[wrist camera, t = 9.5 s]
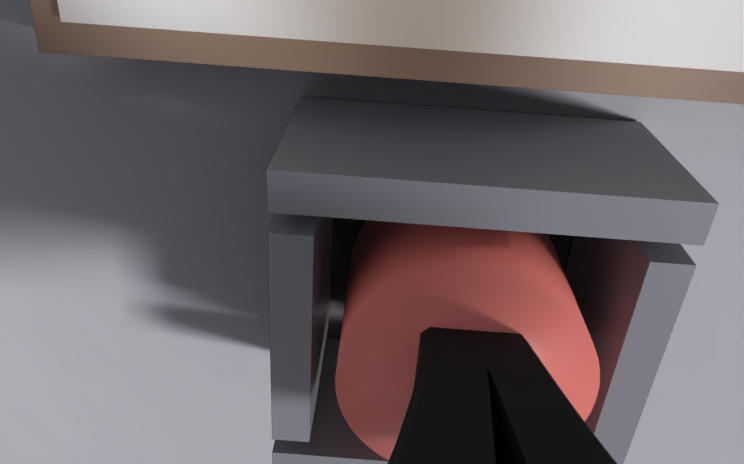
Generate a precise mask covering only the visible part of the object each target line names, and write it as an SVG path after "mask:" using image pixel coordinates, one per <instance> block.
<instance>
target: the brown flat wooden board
mask: <svg viewBox="0 0 744 464" xmlns="http://www.w3.org/2000/svg"><path fill="white" fill-rule="evenodd" d="M30 6H31V11H32V16H33V21H34V27H35V32H36V37H37V42H38V47H39V52H48V53H62V54H75V55H89V56H102V57H116V58H129V59H143V60H156V61H170V62H183V63H197V64H210V65H224V66H237V67H251V68H264V69H278V70H291V71H305V72H318V73H332V74H345V75H358V76H372V77H385V78H399V79H412V80H426V81H439V82H453V83H466V84H480V85H493V86H507V87H520V88H534V89H547V90H561V91H574V92H588V93H601V94H615V95H628V96H642V97H655V98H669V99H682V100H695V101H709V102H722V103H736V104H744V0H30Z"/></svg>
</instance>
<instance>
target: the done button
mask: <svg viewBox="0 0 744 464" xmlns="http://www.w3.org/2000/svg"><path fill="white" fill-rule="evenodd" d="M429 327H438V328H451V329H464V330H477V331H490V332H504V333H517V334H522V335H523V337H524V338H525V339H526V340H527V341H528V343H529V344H530V346H531V347H532V349H533V350H534V352H535V353H536V354H537V356H538V357H539V359H540V360H541V362H542V363H543V365H544V366H545V367H546V369H547V370H548V372H549V373H550V375H551V376H552V377H553V379H554V380H555V382H556V383H557V385H558V386H559V387H560V389H561V390H562V391H563V393H564V394H565V396H566V397H567V398H568V400H569V401H570V403H571V404H572V405H573V407H574V408H575V409H576V411H577V412H578V414H579V415H580V416H581V418H582V419H583V420H584V422H585V421H586V419H587V418H588V416H589V414H590V413H591V411H592V409H593V406H594V404H595V401H596V399H597V395H598V390H599V386H600V367H599V359H598V356H597V353H596V350H595V346H594V344H593V341H592V339H591V337H590V334H589V332H588V329H587V327H586V324H585V322H584V319H583V317H582V314H581V312H580V309H579V307H578V304H577V302H576V300H575V297H574V295H573V292H572V290H571V287H570V285H569V282H568V280H567V277H566V275H565V272H564V270H563V268H562V265H561V263H560V260H559V258H558V255H557V253H556V250H555V248H554V245H553V243H552V240H551V238H550V236H549V234H543V233H530V232H517V231H504V230H491V229H477V228H464V227H451V226H438V225H425V224H411V223H398V222H385V221H372V220H367V221H366V222H365V224H364V225H363V227H362V228H361V230H360V232H359V234H358V236H357V238H356V241H355V244H354V247H353V251H352V257H351V265H350V272H349V279H348V287H347V294H346V301H345V309H344V316H343V323H342V331H341V338H340V346H339V353H338V360H337V368H336V375H335V389H336V395H337V400H338V404H339V407H340V409H341V412H342V414H343V417H344V418H345V420H346V422H347V423H348V425H349V427H350V428H351V429H352V431H353V432H354V433H355V434H356V435H357V437H358V438H359V439H360V440H361V441H362V442H363V443H365V444H366V445H367V446H368V447H369V448H370V449H372V450H373V451H374V452H376V453H377V454H379V455H380V456H382V457H384V458H385V459H387V460H389V459H390V456H391V454H392V452H393V449H394V446H395V444H396V441H397V438H398V435H399V432H400V429H401V426H402V423H403V420H404V417H405V414H406V411H407V408H408V405H409V402H410V399H411V396H412V392H413V388H414V381H415V373H416V365H417V357H418V349H419V341H420V333H421V332H423V331H424V330H426V329H427V328H429Z"/></svg>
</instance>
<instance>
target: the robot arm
mask: <svg viewBox="0 0 744 464" xmlns="http://www.w3.org/2000/svg"><path fill="white" fill-rule="evenodd" d="M387 464H617V463H616V462H615V460H614V459H613V458H612V456H611V455H610V454H609V453H608V451H607V450H606V449H605V447H604V446H603V445H602V444H601V442H600V441H599V440H598V439H597V437H596V436H595V435H594V433H593V432H592V431H591V430H590V428H589V427H588V426H587V424H586V423H585V422H584V420H583V419H582V418H581V416H580V415H579V414H578V412H577V411H576V409H575V408H574V407H573V405H572V404H571V403H570V401H569V400H568V398H567V397H566V396H565V394H564V393H563V391H562V390H561V389H560V387H559V386H558V385H557V383H556V382H555V380H554V379H553V377H552V376H551V375H550V373H549V372H548V370H547V369H546V367H545V366H544V365H543V363H542V362H541V360H540V359H539V357H538V356H537V354H536V353H535V352H534V350H533V349H532V347H531V346H530V344H529V343H528V341H527V340H526V339H525V338H524V337H523V335H522V334H517V333H504V332H490V331H477V330H464V329H451V328H438V327H429V328H427V329H426V330H424V331H423V332H421V333H420V341H419V349H418V357H417V365H416V373H415V381H414V388H413V392H412V396H411V399H410V402H409V405H408V408H407V411H406V414H405V417H404V420H403V423H402V426H401V429H400V432H399V435H398V438H397V441H396V444H395V446H394V449H393V452H392V454H391V456H390V459H389V461H388V463H387Z"/></svg>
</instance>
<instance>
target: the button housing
mask: <svg viewBox="0 0 744 464" xmlns="http://www.w3.org/2000/svg"><path fill="white" fill-rule="evenodd" d="M718 205H719V203H718V202H717V201H716V200H715V199H714V198H713V197H712V196H711V195H710V194H709V193H708V192H707V191H706V190H705V189H704V188H703V187H702V186H701V185H700V184H699V182H698V181H697V180H696V179H695V178H694V177H693V176H692V175H691V174H690V173H689V172H688V171H687V170H686V169H685V168H684V167H683V166H682V165H681V164H680V163H679V162H678V161H677V160H676V159H675V157H674V156H673V155H672V154H671V153H670V152H669V151H668V150H667V149H666V148H665V147H664V146H663V145H662V144H661V143H660V142H659V141H658V140H657V139H656V138H655V137H654V136H653V135H652V134H651V133H650V131H649V130H648V129H647V128H646V127H645V126H644V125H643V124H642V123H641V122H636V121H623V120H609V119H596V118H582V117H569V116H556V115H542V114H529V113H515V112H502V111H488V110H475V109H462V108H448V107H435V106H421V105H408V104H394V103H381V102H368V101H354V100H341V99H327V98H314V97H300V99H299V101H298V103H297V105H296V108H295V110H294V112H293V114H292V116H291V118H290V121H289V123H288V125H287V127H286V129H285V131H284V133H283V136H282V138H281V140H280V142H279V144H278V146H277V148H276V151H275V153H274V155H273V157H272V159H271V161H270V164H269V166H268V168H267V213H275V215H274V218H273V221H272V223H271V226H270V229H269V231H268V264H269V314H270V364H271V414H272V439H275V443H274V447H273V451H272V464H387V463H388V461H389V460H387V459H385V458H384V457H382V456H380V455H379V454H377V453H376V452H374V451H373V450H372V449H370V448H369V447H368V446H367V445H366V444H365V443H363V442H362V441H361V440H360V439H359V438H358V437H357V435H356V434H355V433H354V432H353V431H352V429H351V428H350V427H349V425H348V423H347V422H346V420H345V418H344V417H343V414H342V412H341V409H340V407H339V404H338V400H337V395H336V389H335V375H336V368H337V360H338V353H339V346H340V339H332V338H327V333H328V327H329V301H330V274H331V246H332V219H333V218H345V219H358V220H372V221H385V222H398V223H411V224H425V225H438V226H451V227H464V228H477V229H491V230H504V231H517V232H530V233H543V234H557V235H570V236H574V239H573V243H572V247H571V251H570V255H569V259H568V263H567V267H566V271H565V275H566V277H567V280H568V282H569V285H570V287H571V290H572V292H573V295H574V297H575V300H576V302H577V304H578V307H579V309H580V312H581V314H582V317H583V319H584V322H585V324H586V327H587V329H588V332H589V334H590V337H591V339H592V341H593V344H594V346H595V350H596V353H597V356H598V359H599V367H600V386H599V390H598V395H597V399H596V401H595V404H594V406H593V409H592V411H591V413H590V414H589V416H588V418H587V419H586V421H585V423H586V424H587V426H588V427H589V428H590V430H591V431H592V432H593V433H594V435H595V436H596V437H597V439H598V440H599V441H600V442H601V444H602V445H603V446H604V447H605V449H606V450H607V451H608V453H609V454H610V455H611V456H612V458H613V459H614V460H615V462H616V463H617V464H623V462H624V460H625V457H626V454H627V452H628V449H629V446H630V443H631V441H632V438H633V435H634V433H635V430H636V427H637V424H638V422H639V419H640V416H641V414H642V411H643V408H644V406H645V403H646V400H647V397H648V395H649V392H650V389H651V387H652V384H653V381H654V378H655V376H656V373H657V370H658V368H659V365H660V362H661V360H662V357H663V354H664V351H665V349H666V346H667V343H668V341H669V338H670V335H671V332H672V330H673V327H674V324H675V322H676V319H677V316H678V314H679V311H680V308H681V305H682V303H683V300H684V297H685V295H686V292H687V289H688V286H689V284H690V281H691V278H692V276H693V273H694V270H695V268H696V264H695V263H694V262H693V260H692V259H691V258H690V256H689V255H688V254H687V252H686V251H685V250H684V248H683V247H682V246H681V244H689V245H702V246H704V243H705V240H706V238H707V235H708V232H709V230H710V227H711V224H712V221H713V219H714V216H715V213H716V211H717V208H718Z"/></svg>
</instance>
